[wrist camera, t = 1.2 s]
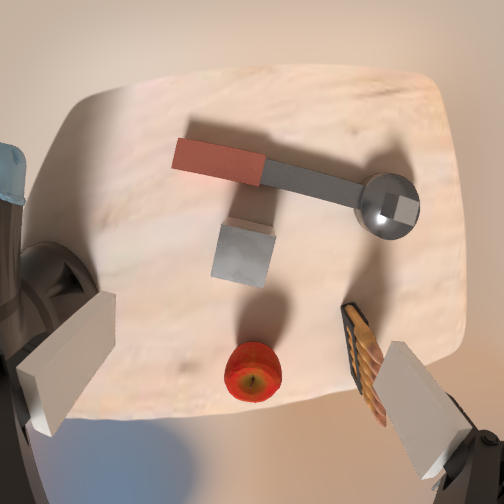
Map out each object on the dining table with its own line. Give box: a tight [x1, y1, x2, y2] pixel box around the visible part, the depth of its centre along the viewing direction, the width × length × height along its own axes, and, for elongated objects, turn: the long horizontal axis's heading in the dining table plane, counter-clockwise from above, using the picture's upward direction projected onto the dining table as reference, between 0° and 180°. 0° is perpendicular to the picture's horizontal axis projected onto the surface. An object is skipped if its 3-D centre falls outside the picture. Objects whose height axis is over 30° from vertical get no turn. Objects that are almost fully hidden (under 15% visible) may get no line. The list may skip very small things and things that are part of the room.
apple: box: [224, 342, 282, 403], centre depth 34 cm, size 6×6×8 cm
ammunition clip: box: [341, 302, 386, 427], centre depth 31 cm, size 11×2×12 cm, turn 15°
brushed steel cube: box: [211, 216, 276, 288], centre depth 31 cm, size 5×5×6 cm
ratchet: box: [172, 138, 420, 240], centre depth 29 cm, size 26×7×6 cm, turn 77°
